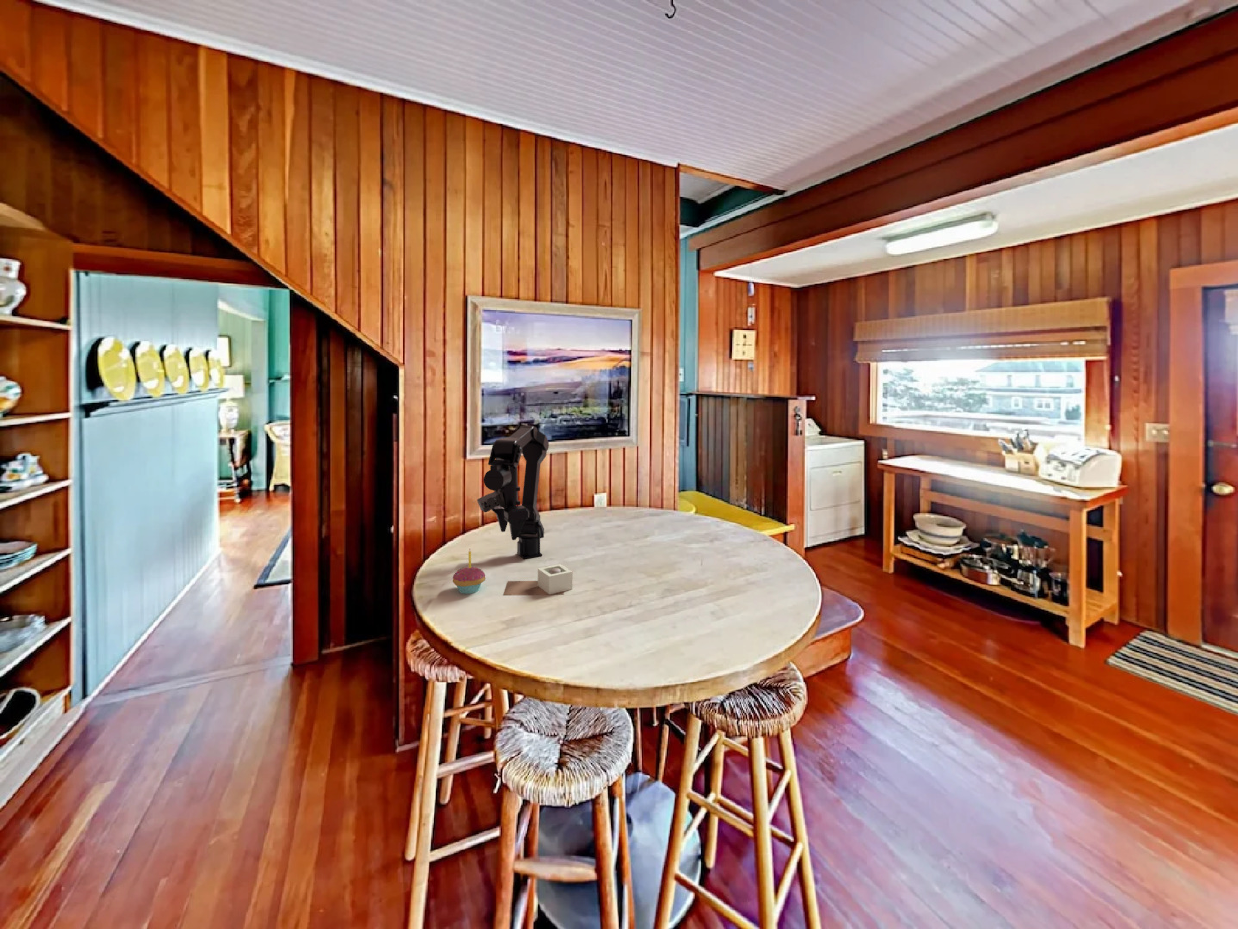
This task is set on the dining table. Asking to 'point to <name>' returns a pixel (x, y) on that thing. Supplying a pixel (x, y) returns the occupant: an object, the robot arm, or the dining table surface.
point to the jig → (528, 587)
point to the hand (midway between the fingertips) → (508, 535)
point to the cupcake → (468, 578)
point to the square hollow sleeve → (555, 579)
